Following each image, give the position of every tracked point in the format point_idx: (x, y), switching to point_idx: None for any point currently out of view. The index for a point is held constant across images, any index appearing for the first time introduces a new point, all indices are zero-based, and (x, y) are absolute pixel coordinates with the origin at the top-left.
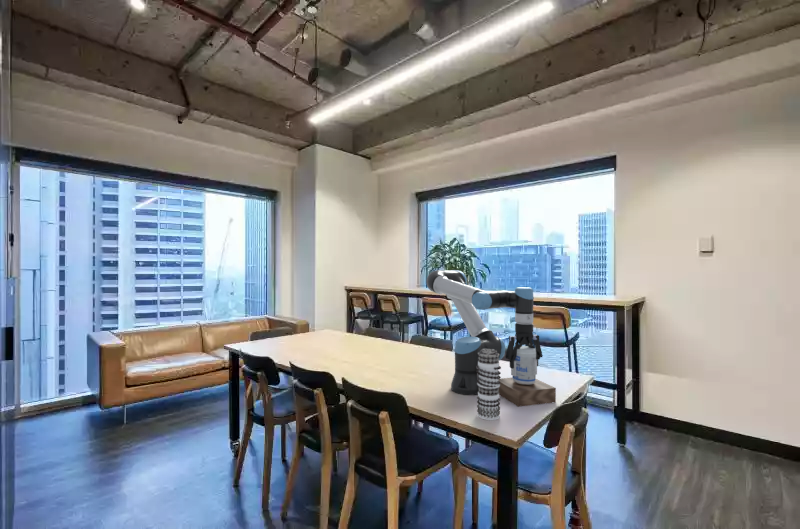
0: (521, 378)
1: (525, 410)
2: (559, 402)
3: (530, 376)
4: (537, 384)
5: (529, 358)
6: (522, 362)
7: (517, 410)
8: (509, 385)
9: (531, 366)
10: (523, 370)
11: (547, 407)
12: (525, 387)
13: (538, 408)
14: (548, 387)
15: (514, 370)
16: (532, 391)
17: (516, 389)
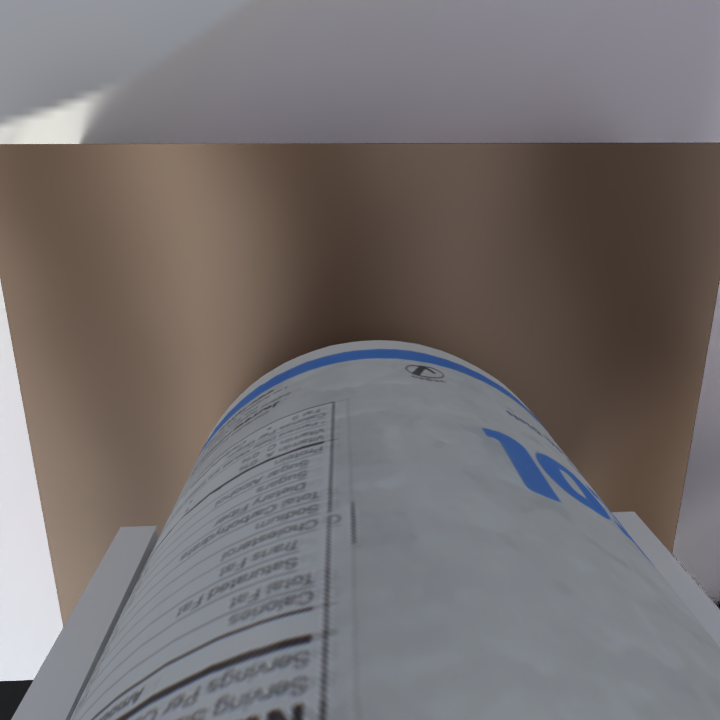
0: (539, 426)
1: (625, 4)
2: (27, 133)
3: (389, 380)
4: (195, 390)
5: (559, 717)
6: (718, 655)
7: (714, 36)
8: (646, 451)
9: (383, 489)
10: (578, 483)
11: (291, 14)
12: (477, 308)
13: (426, 17)
14: (95, 204)
15: (700, 592)
16: (459, 143)
17: (679, 258)
